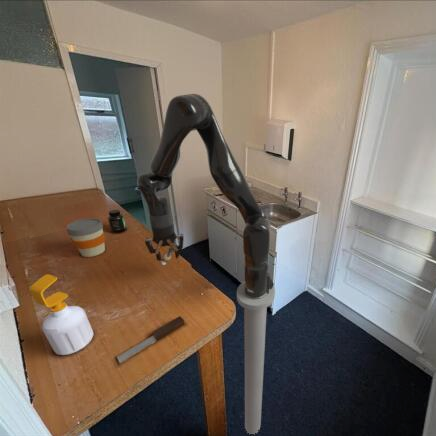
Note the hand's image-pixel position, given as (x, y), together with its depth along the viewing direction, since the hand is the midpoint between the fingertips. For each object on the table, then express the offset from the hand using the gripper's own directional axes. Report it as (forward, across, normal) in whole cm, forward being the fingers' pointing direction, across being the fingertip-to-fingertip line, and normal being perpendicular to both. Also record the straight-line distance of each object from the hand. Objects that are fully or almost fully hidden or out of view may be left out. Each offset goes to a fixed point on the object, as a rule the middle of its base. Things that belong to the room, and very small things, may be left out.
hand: (168, 258), depth 97 cm
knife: (+9, -4, -31) cm, 33 cm away
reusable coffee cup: (+9, -34, +30) cm, 47 cm away
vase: (+2, 0, 0) cm, 2 cm away
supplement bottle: (+9, -28, +50) cm, 58 cm away
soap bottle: (+9, -26, -24) cm, 37 cm away
